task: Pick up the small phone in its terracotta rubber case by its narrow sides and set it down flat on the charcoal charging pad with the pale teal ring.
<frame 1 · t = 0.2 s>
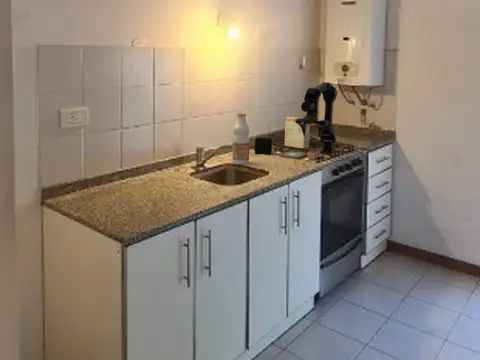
hand: (311, 136, 311), 13 cm above the countertop, tool pointing down, fingers open, 9 cm apart
fruit juice: (240, 163, 301), on the countertop
electronic device: (263, 154, 327), on the countertop
charging pad: (293, 155, 323), on the countertop
coffeecake box: (296, 146, 353), on the countertop
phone: (313, 158, 318), on the countertop
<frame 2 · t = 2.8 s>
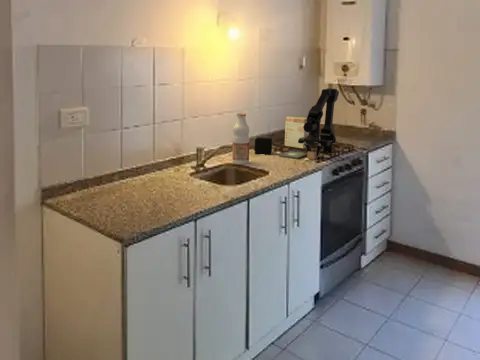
hand: (313, 156, 318), 1 cm above the countertop, tool pointing down, fingers closed on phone, 4 cm apart
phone: (313, 157, 318), on the countertop, touching gripper
everything else where it was.
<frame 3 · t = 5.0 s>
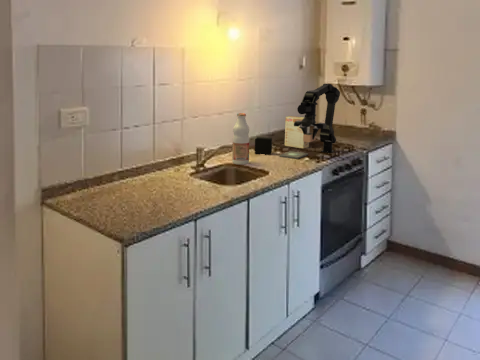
hand: (309, 139, 316), 11 cm above the countertop, tool pointing down, fingers closed on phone, 4 cm apart
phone: (309, 140, 317), point 10 cm above the countertop, touching gripper
everything else where it was.
when the fingers open (3 cm above the countertop, at t = 7.7 s): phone drops 1 cm, resting on charging pad.
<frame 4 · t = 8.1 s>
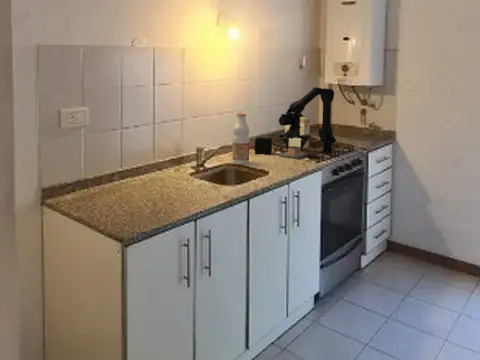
hand: (294, 150, 322), 3 cm above the countertop, tool pointing down, fingers open, 9 cm apart
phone: (293, 154, 322), point 1 cm above the countertop, touching charging pad
everything else where it was.
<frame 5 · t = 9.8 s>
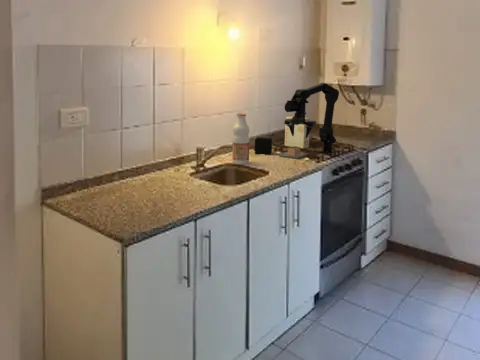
hand: (299, 136, 320), 12 cm above the countertop, tool pointing down, fingers open, 9 cm apart
nothing on the countertop moved.
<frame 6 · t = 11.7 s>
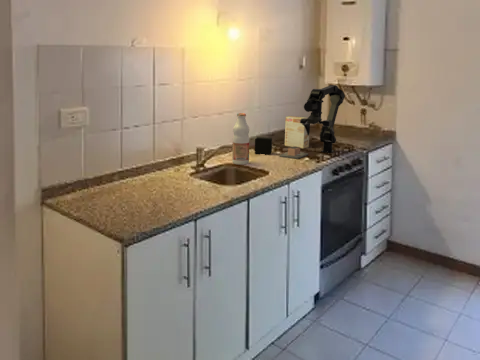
hand: (315, 136, 321), 12 cm above the countertop, tool pointing down, fingers open, 9 cm apart
nothing on the countertop moved.
at the end: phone inside the target area on the charging pad (0.0 cm from its centre), point 1.0 cm above the charging pad's base; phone tilted 0°; the gripper is holding nothing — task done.
